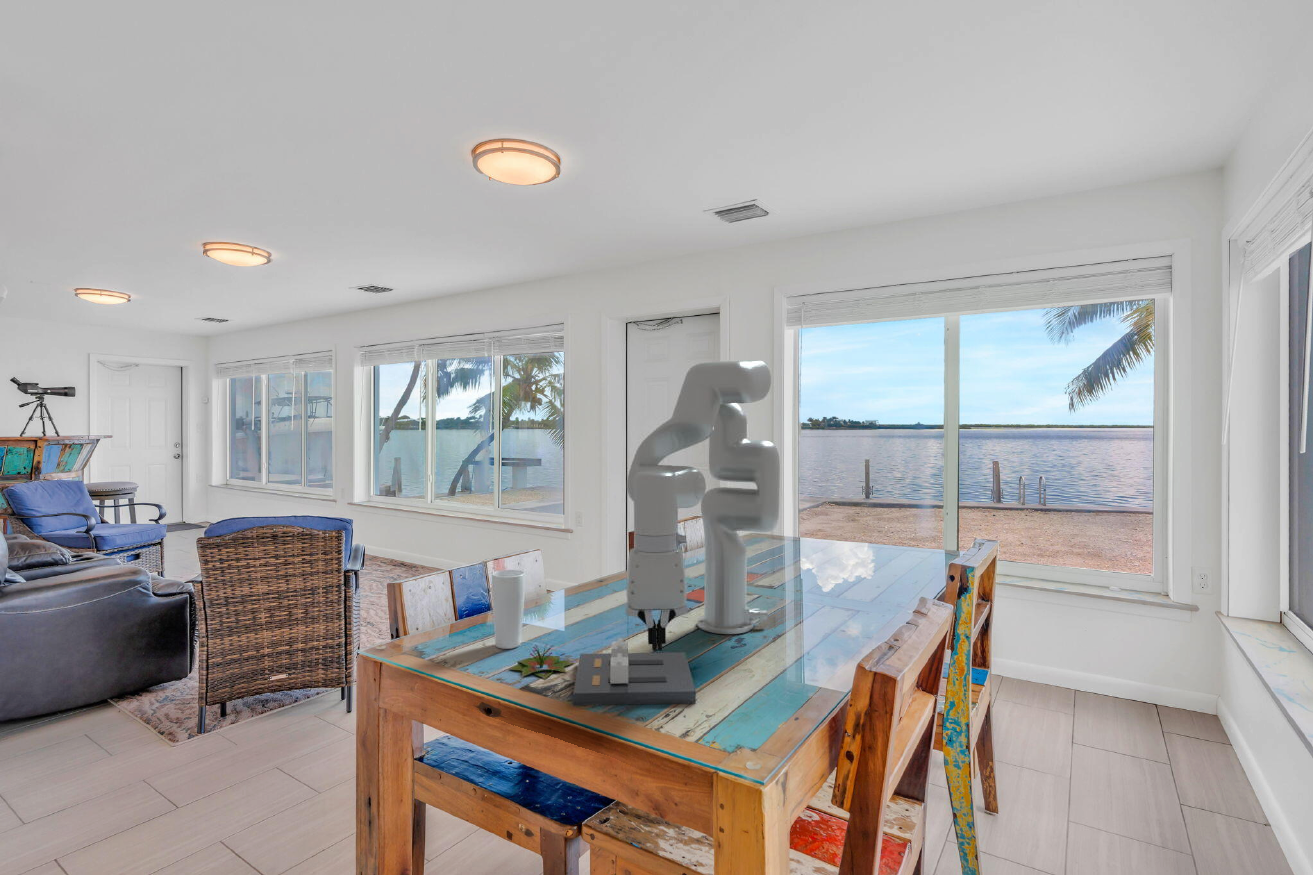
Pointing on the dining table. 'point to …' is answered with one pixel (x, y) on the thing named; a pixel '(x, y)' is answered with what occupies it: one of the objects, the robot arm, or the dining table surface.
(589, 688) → the breaker panel
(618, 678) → the block
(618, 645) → the breaker
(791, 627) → the dining table surface
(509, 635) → the drinking glass
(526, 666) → the lily flower
